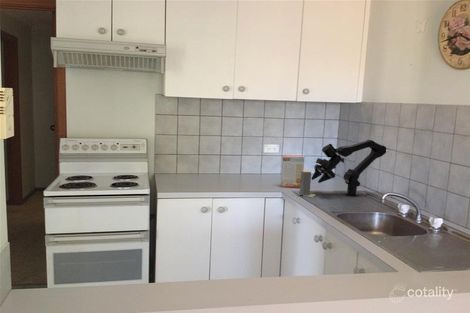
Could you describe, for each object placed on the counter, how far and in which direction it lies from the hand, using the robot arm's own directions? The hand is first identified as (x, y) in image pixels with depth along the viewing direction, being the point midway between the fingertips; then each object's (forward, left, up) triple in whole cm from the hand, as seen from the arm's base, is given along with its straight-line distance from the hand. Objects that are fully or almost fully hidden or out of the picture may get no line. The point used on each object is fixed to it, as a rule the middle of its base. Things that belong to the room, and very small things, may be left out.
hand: (315, 180), depth 257 cm
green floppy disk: (+3, -3, -9) cm, 10 cm away
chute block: (+4, -4, -8) cm, 10 cm away
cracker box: (-14, -21, -9) cm, 27 cm away
